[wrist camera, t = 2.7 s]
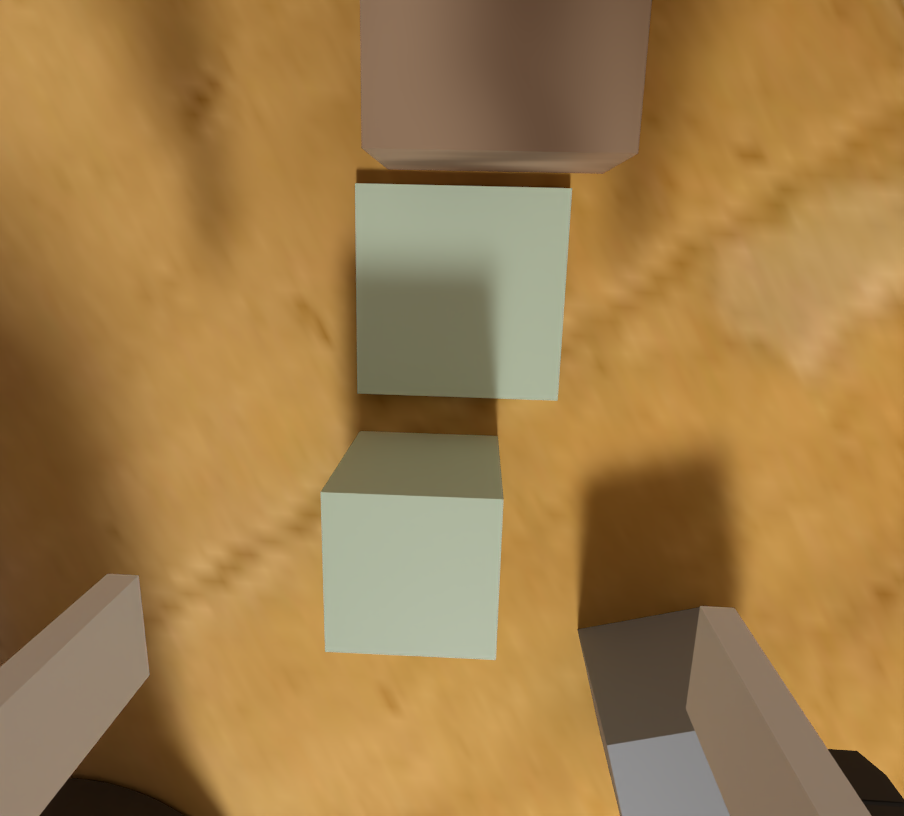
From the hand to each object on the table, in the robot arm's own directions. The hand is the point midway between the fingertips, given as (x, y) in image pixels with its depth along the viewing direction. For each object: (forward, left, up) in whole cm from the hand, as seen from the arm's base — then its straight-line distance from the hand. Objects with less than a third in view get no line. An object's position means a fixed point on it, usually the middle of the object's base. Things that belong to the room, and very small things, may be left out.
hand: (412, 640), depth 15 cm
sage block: (0, 0, -9) cm, 9 cm away
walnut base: (+2, +15, -9) cm, 18 cm away
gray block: (+9, -7, -9) cm, 14 cm away
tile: (+1, +7, -9) cm, 12 cm away
